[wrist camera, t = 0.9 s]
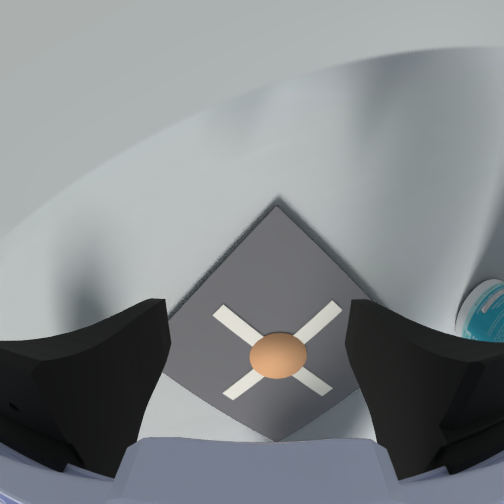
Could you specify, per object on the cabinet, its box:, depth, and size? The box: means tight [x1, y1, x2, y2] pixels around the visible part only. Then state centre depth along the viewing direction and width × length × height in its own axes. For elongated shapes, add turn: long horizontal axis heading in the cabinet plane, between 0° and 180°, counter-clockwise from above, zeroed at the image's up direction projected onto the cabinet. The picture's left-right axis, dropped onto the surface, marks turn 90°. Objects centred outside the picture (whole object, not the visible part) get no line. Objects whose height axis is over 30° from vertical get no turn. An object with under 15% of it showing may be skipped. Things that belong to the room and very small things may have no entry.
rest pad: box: [162, 206, 372, 442], centre depth 22 cm, size 16×16×1 cm
